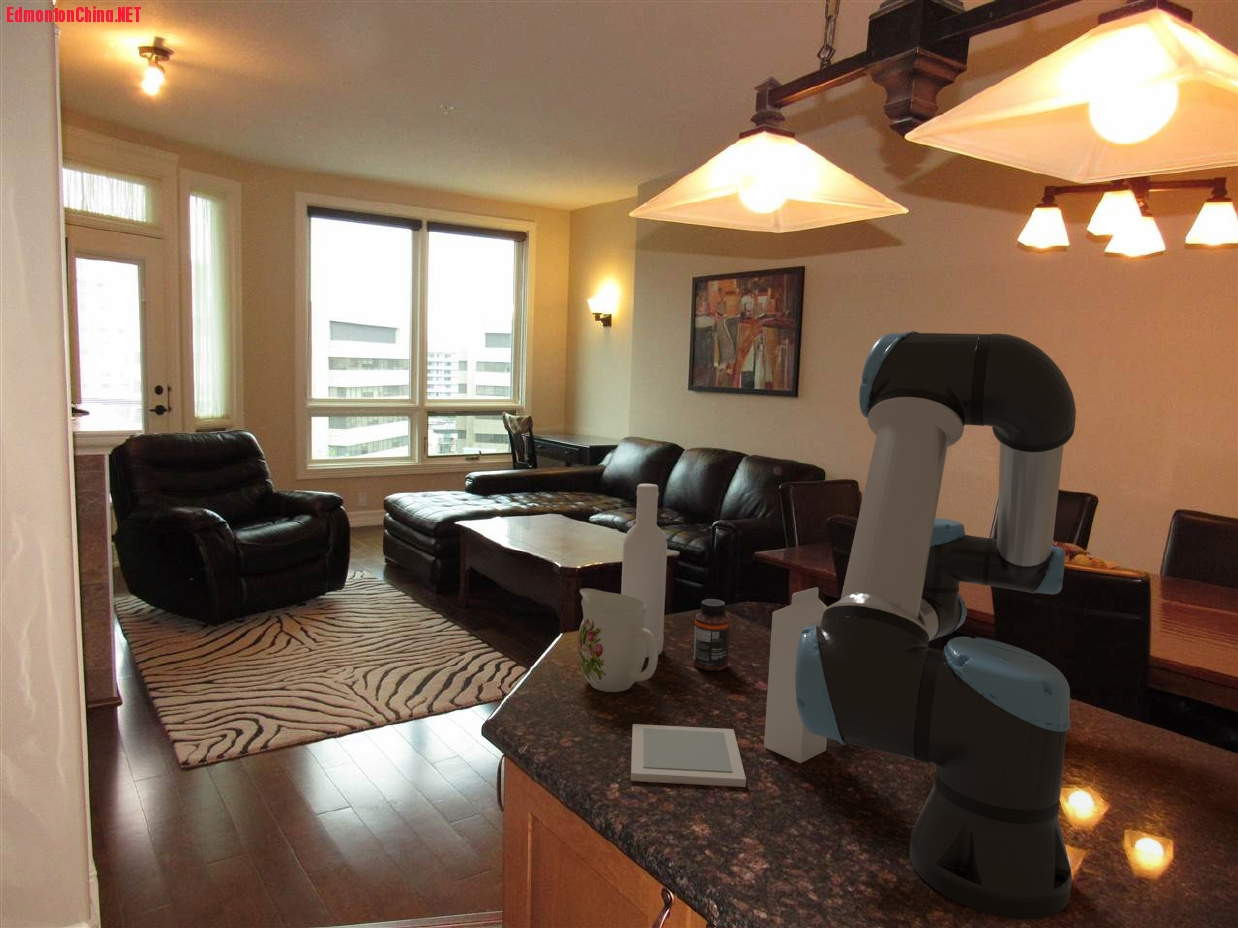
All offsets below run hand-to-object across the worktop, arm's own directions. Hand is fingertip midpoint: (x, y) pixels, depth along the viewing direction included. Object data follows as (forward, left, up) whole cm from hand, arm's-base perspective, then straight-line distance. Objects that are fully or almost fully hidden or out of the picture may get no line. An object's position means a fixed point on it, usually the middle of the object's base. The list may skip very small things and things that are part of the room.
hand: (826, 652), depth 114 cm
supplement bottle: (+25, +14, -12) cm, 31 cm away
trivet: (-9, +20, -12) cm, 25 cm away
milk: (-5, +5, -12) cm, 14 cm away
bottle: (+31, +26, -12) cm, 42 cm away
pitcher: (+14, +30, -12) cm, 35 cm away
